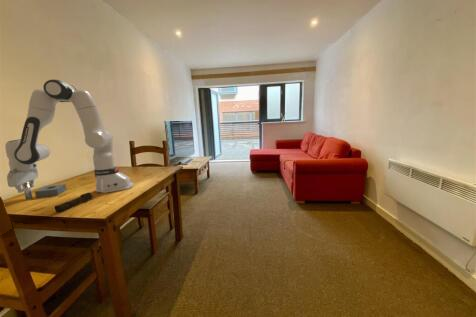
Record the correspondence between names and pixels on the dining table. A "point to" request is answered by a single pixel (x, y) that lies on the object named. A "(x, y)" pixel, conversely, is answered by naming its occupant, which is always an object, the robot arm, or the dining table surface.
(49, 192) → the hole block
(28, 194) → the steel pin
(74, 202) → the hand tool
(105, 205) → the dining table surface
